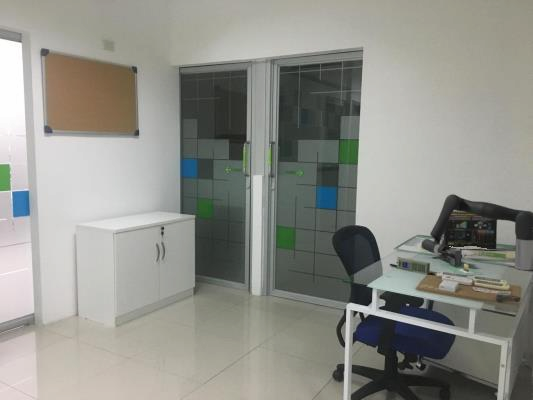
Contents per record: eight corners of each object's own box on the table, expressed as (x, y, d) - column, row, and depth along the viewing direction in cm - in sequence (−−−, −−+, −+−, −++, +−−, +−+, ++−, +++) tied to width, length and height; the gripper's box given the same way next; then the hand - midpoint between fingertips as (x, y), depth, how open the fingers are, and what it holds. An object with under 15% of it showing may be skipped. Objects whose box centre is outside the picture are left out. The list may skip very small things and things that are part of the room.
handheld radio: (426, 275, 249) (388, 267, 268) (430, 274, 251) (391, 266, 270) (427, 263, 248) (388, 255, 268) (430, 262, 250) (392, 255, 270)
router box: (491, 248, 326) (493, 210, 324) (497, 251, 315) (499, 212, 313) (439, 246, 332) (440, 210, 329) (443, 249, 321) (444, 211, 318)
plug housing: (449, 263, 267) (449, 248, 266) (455, 263, 267) (455, 248, 267) (454, 266, 261) (455, 250, 260) (461, 265, 261) (461, 250, 260)
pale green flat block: (438, 266, 269) (439, 258, 268) (461, 265, 270) (461, 257, 270) (458, 275, 247) (459, 266, 246) (483, 275, 248) (483, 265, 248)
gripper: (431, 244, 277) (446, 250, 260) (454, 244, 278) (469, 249, 261) (431, 257, 277) (446, 263, 260) (453, 256, 279) (469, 262, 262)
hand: (457, 256), depth 261 cm, fingers closed on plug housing, 3 cm apart
